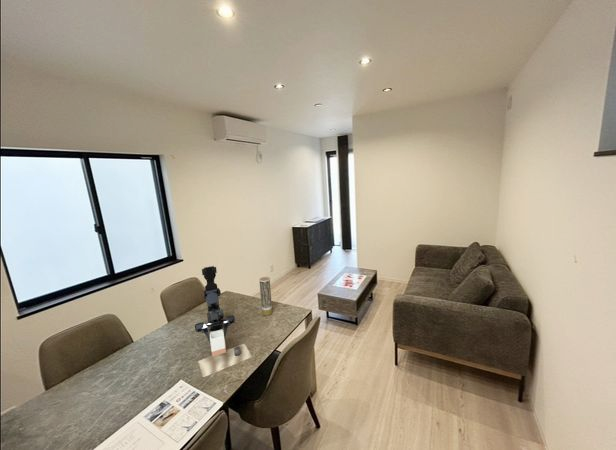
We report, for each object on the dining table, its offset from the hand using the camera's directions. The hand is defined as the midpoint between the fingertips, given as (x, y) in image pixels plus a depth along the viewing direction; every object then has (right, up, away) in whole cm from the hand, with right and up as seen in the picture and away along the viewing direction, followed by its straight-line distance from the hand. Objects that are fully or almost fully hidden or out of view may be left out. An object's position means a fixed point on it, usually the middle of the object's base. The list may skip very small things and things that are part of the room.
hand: (217, 341), depth 124 cm
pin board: (+2, -13, +6) cm, 14 cm away
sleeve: (0, -6, +2) cm, 6 cm away
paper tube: (+16, -4, +49) cm, 52 cm away
